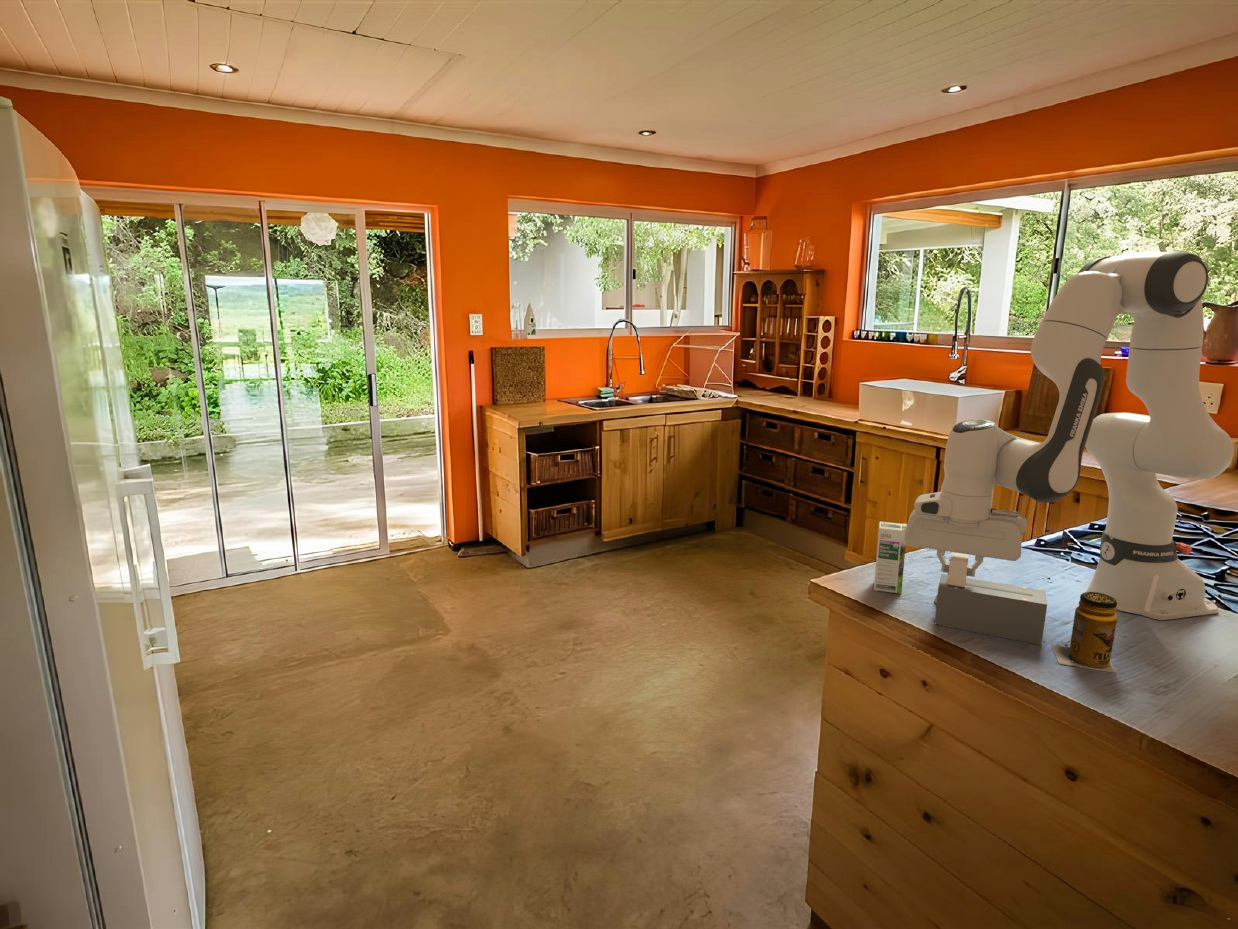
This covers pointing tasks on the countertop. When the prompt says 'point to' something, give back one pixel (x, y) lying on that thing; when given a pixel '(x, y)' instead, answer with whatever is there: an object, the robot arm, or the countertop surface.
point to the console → (992, 609)
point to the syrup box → (890, 557)
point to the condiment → (1091, 633)
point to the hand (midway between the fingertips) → (957, 573)
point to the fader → (958, 569)
